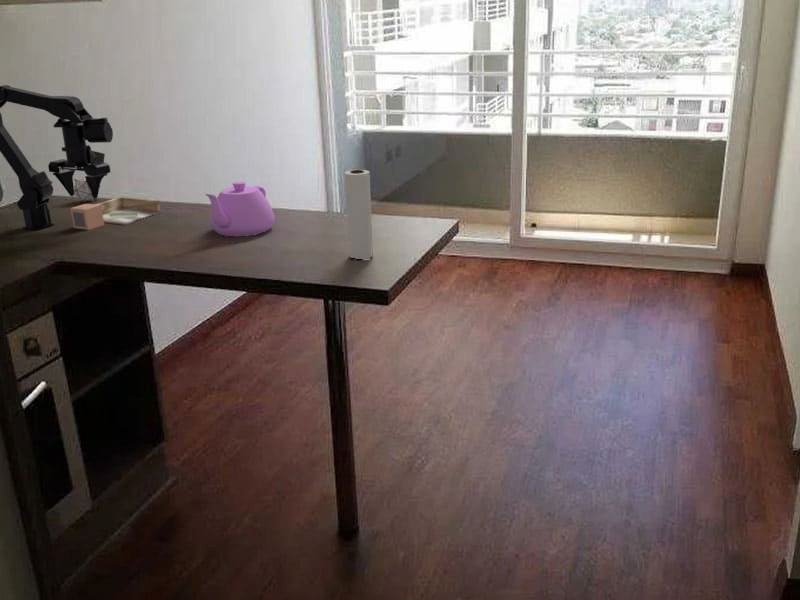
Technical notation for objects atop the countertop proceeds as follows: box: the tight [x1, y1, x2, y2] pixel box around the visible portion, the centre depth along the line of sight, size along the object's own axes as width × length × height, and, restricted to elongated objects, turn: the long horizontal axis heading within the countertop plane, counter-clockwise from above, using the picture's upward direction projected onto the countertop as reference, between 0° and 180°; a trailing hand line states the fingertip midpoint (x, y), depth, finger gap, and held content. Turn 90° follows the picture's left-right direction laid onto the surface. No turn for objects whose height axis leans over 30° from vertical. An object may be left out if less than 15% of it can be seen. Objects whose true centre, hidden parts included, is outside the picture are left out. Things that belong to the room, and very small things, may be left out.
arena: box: [94, 196, 161, 226], centre depth 243 cm, size 15×15×4 cm
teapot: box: [205, 181, 276, 237], centre depth 222 cm, size 25×18×14 cm
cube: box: [69, 203, 105, 231], centre depth 232 cm, size 6×6×6 cm
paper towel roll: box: [344, 169, 374, 259], centre depth 193 cm, size 7×6×21 cm
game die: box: [73, 178, 98, 205], centre depth 263 cm, size 9×8×10 cm
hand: (83, 197), depth 230 cm, fingers open, 9 cm apart
